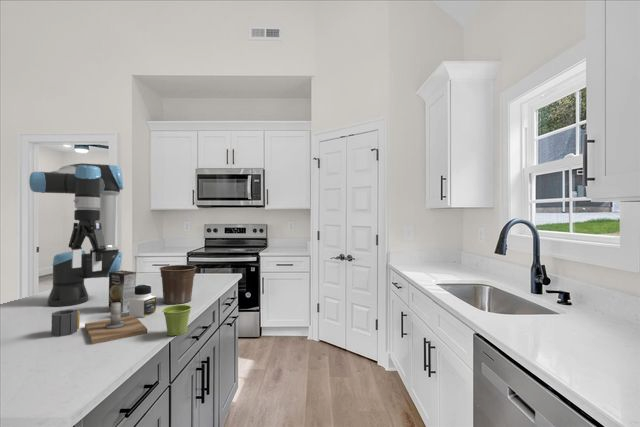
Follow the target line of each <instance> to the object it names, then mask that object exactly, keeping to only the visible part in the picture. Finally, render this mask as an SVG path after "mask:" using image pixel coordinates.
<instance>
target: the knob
mask: <svg viewBox="0 0 640 427" xmlns="http://www.w3.org/2000/svg"><path fill="white" fill-rule="evenodd" d="M78 330H80V311H78V310H77V309H72V308H71V309H63V310H58V311H54V312H52V313H51V337H64V336H70V335H73V334H75V333H77V332H78Z"/></svg>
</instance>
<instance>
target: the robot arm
mask: <svg viewBox="0 0 640 427" xmlns="http://www.w3.org/2000/svg"><path fill="white" fill-rule="evenodd" d="M28 181H29V183H28V184H29V188H30V190H31V192H33V193H42V194H45V193H46V194H74V199H73V202H74V208H75V210H74V214H73V216H74V218H73V219H74V220H75V221H78V222H73V225H72V226H73V227H72V231H71V236H70V239H69V243H68V248H69V249H71V251H67V252H66V251H65V252H62V253H61V252H60V253H57V254H56V255H54V257H53V260H52V261H53V263H52V288H51V291H50V293H49V295H48V298H47V303H46V304H48V305H47V306H49V305H50V306H49V307H66V306H68V305H69V306H74V305H80V304H83V303H86V302H88V301H89V293H88V291H87V288H86V285H85V279H99V278H100V279H101V278H109V272H113V271H121V265H122V259H123V258H122V257H123V253H122V252H120V251H119V250H120V249H119V247H117V245H116V226H117V225H116V220H117V219H116V218H117V212H116V211H117V196H119V195H120V194H121V193H120V191H122V190H123V189H124V182H123V174H122V170H121V168H120V166H118V165H113V164H99V163H98V164H96V163H73V164H69V165H64V166H61V167H60V168H59V169H58V170H53V171H33V172H31V173H30V175H29V180H28ZM86 237H87V238H88V240H89V242H90V245H91V248H90V249H89V253H86V251H85V250H83V247H82V245H83V243H84V241H85V239H86Z"/></svg>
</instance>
